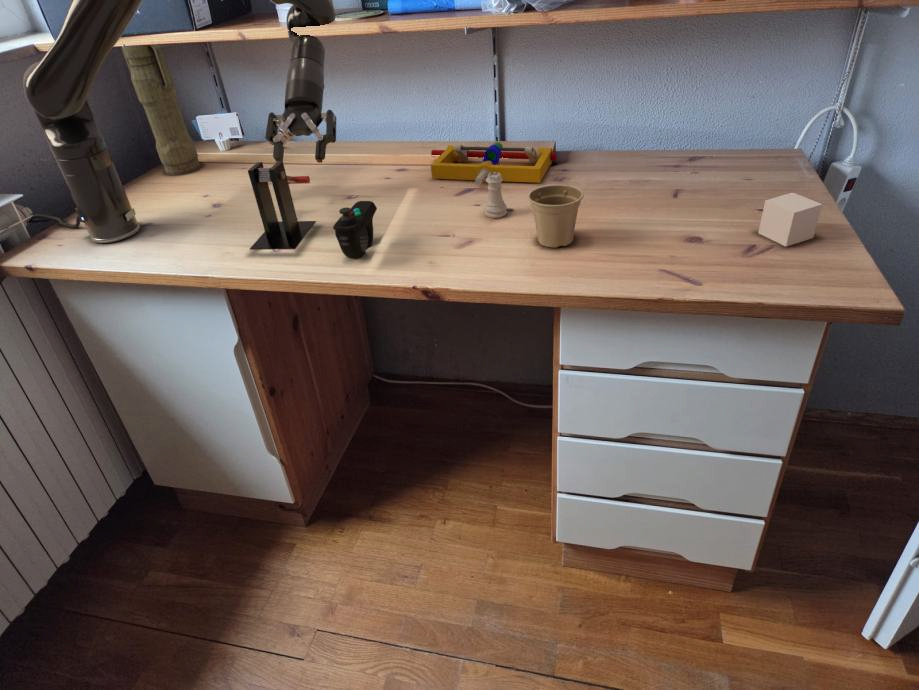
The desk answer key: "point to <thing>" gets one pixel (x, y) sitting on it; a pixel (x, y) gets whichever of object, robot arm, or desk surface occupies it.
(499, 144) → the mechanical clamp
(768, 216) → the beige cube
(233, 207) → the desk surface
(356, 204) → the controller
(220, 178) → the desk surface
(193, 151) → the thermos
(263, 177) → the lever
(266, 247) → the bracket
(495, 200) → the rook chess piece
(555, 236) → the flower pot
